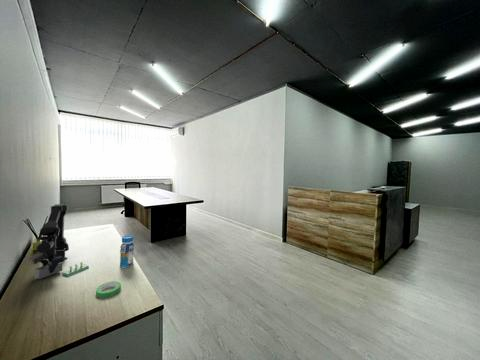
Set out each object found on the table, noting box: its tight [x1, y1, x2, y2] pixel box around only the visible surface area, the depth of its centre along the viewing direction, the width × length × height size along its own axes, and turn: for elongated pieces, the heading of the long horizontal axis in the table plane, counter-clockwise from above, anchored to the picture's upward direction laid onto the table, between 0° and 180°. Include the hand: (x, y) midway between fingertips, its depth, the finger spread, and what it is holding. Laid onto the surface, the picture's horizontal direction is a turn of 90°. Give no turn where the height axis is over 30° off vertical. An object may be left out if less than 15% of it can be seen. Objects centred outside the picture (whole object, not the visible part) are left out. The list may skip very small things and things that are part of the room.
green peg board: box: [61, 261, 90, 277], centre depth 124 cm, size 5×12×4 cm, turn 160°
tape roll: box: [95, 280, 122, 299], centre depth 105 cm, size 11×11×3 cm
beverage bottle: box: [119, 235, 135, 269], centre depth 135 cm, size 8×8×20 cm
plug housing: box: [33, 262, 63, 280], centre depth 117 cm, size 5×11×5 cm, turn 160°
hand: (48, 272), depth 117 cm, fingers closed on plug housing, 5 cm apart
